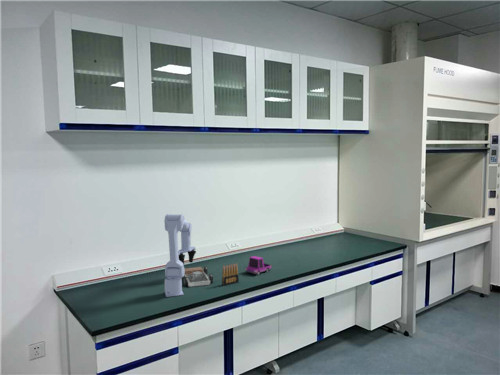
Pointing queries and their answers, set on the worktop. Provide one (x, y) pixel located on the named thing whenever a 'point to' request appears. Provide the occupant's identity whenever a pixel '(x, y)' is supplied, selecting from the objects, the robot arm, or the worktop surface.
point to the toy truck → (257, 265)
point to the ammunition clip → (230, 275)
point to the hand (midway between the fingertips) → (186, 263)
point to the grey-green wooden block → (197, 276)
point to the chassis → (205, 281)
